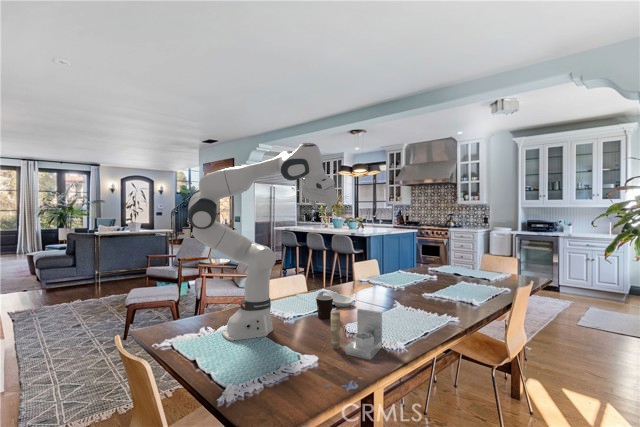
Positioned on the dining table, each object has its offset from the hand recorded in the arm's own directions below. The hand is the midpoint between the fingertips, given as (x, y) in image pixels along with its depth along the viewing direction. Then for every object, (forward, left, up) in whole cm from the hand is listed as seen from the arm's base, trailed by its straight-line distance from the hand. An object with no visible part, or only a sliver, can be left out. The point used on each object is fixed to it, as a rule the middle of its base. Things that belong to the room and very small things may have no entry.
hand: (322, 210), depth 150 cm
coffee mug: (+12, +18, -54) cm, 59 cm away
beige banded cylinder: (-4, -16, -54) cm, 57 cm away
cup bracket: (+3, -25, -54) cm, 60 cm away
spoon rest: (+28, +34, -55) cm, 71 cm away
